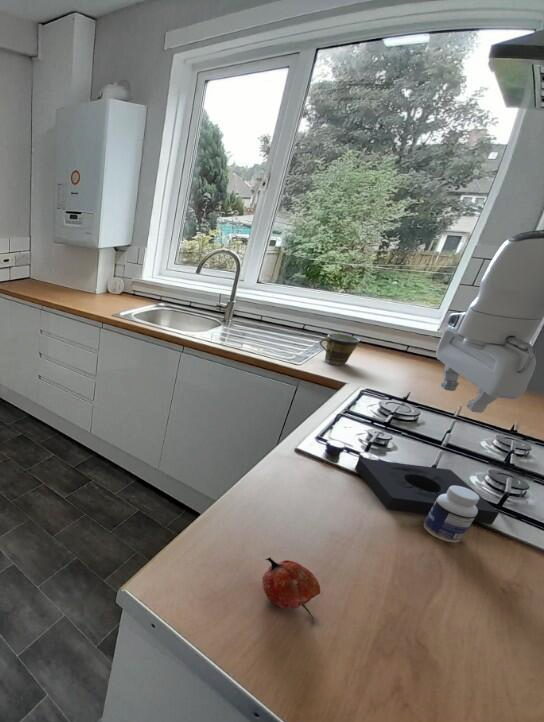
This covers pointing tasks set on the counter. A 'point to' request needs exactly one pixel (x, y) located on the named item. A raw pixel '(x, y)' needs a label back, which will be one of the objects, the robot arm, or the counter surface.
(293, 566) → the pomegranate
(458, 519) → the pill bottle
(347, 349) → the ceramic cup
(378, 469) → the black pad
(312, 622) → the counter surface
